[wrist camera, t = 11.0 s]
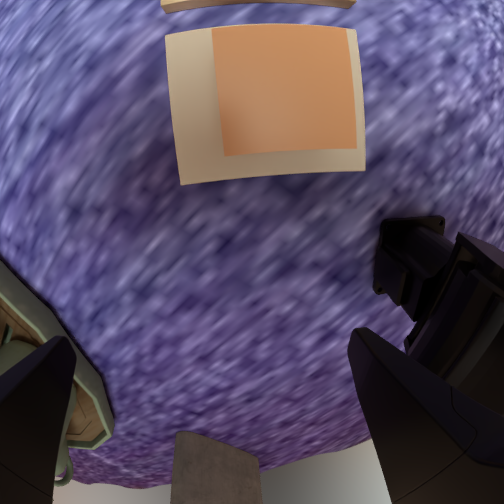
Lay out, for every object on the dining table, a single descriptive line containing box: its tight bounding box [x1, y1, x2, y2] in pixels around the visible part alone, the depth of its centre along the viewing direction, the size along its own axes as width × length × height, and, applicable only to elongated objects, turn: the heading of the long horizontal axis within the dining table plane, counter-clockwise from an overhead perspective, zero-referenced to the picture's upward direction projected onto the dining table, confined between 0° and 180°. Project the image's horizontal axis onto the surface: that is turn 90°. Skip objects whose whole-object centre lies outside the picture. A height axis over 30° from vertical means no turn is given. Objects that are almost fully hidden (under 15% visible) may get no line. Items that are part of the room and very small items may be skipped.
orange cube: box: [211, 24, 357, 156], centre depth 12 cm, size 6×6×5 cm
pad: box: [165, 24, 365, 185], centre depth 15 cm, size 12×10×1 cm
